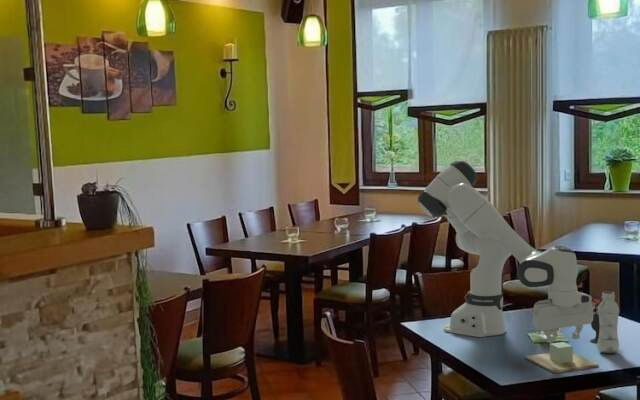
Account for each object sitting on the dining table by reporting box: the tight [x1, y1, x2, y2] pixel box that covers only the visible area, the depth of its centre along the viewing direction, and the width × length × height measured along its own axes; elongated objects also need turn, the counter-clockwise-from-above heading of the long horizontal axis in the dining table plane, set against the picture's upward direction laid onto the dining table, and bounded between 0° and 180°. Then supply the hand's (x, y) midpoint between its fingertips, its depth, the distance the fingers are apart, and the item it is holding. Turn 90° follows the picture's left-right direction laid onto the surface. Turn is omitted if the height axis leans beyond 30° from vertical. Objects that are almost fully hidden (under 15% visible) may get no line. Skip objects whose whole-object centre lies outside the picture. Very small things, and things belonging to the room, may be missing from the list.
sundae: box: [589, 298, 603, 344], centre depth 266 cm, size 7×7×15 cm
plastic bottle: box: [596, 291, 620, 354], centre depth 253 cm, size 6×7×20 cm
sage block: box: [549, 341, 574, 363], centre depth 245 cm, size 5×5×5 cm
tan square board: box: [525, 352, 600, 374], centre depth 246 cm, size 16×16×1 cm
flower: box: [590, 298, 603, 306], centre depth 296 cm, size 10×9×8 cm
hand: (563, 340), depth 246 cm, fingers open, 8 cm apart
